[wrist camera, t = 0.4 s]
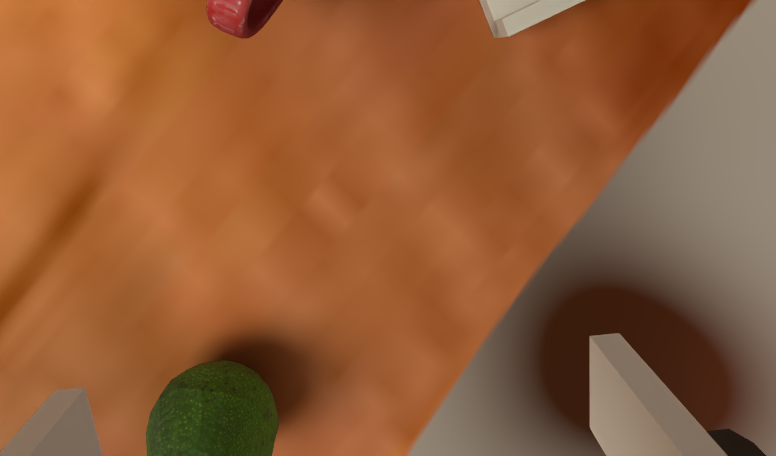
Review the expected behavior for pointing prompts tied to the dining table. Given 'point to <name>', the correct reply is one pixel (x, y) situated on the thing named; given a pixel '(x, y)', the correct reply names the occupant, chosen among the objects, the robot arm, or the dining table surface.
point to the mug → (241, 15)
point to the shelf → (520, 13)
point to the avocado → (214, 414)
